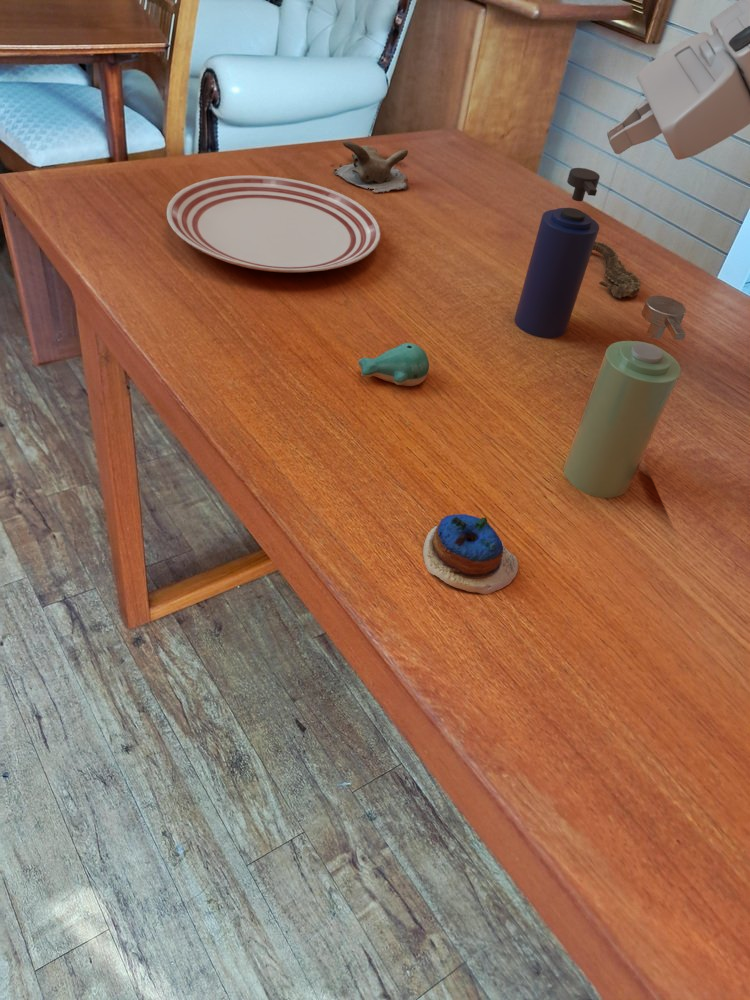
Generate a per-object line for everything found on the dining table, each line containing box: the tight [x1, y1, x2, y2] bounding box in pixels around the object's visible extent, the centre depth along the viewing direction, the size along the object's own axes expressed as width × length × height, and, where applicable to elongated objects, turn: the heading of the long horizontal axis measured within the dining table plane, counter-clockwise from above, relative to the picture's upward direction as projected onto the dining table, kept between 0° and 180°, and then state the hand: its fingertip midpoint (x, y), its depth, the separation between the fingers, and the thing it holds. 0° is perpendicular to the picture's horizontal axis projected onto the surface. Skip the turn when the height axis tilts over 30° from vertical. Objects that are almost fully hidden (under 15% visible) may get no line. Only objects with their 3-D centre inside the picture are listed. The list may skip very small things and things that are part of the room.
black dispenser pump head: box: [566, 167, 601, 202], centre depth 84 cm, size 3×6×3 cm, turn 2°
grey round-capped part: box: [641, 295, 687, 341], centre depth 64 cm, size 3×6×3 cm, turn 2°
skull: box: [333, 141, 409, 194], centre depth 122 cm, size 10×12×6 cm
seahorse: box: [592, 241, 642, 300], centre depth 108 cm, size 6×15×2 cm, turn 13°
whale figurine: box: [357, 342, 430, 387], centre depth 83 cm, size 6×7×4 cm
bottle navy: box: [514, 207, 600, 339], centre depth 92 cm, size 6×6×14 cm
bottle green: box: [562, 340, 682, 499], centre depth 71 cm, size 6×6×14 cm
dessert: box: [422, 513, 519, 595], centre depth 65 cm, size 8×7×6 cm
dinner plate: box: [166, 175, 381, 273], centre depth 103 cm, size 27×27×3 cm
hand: (610, 143), depth 80 cm, fingers closed
